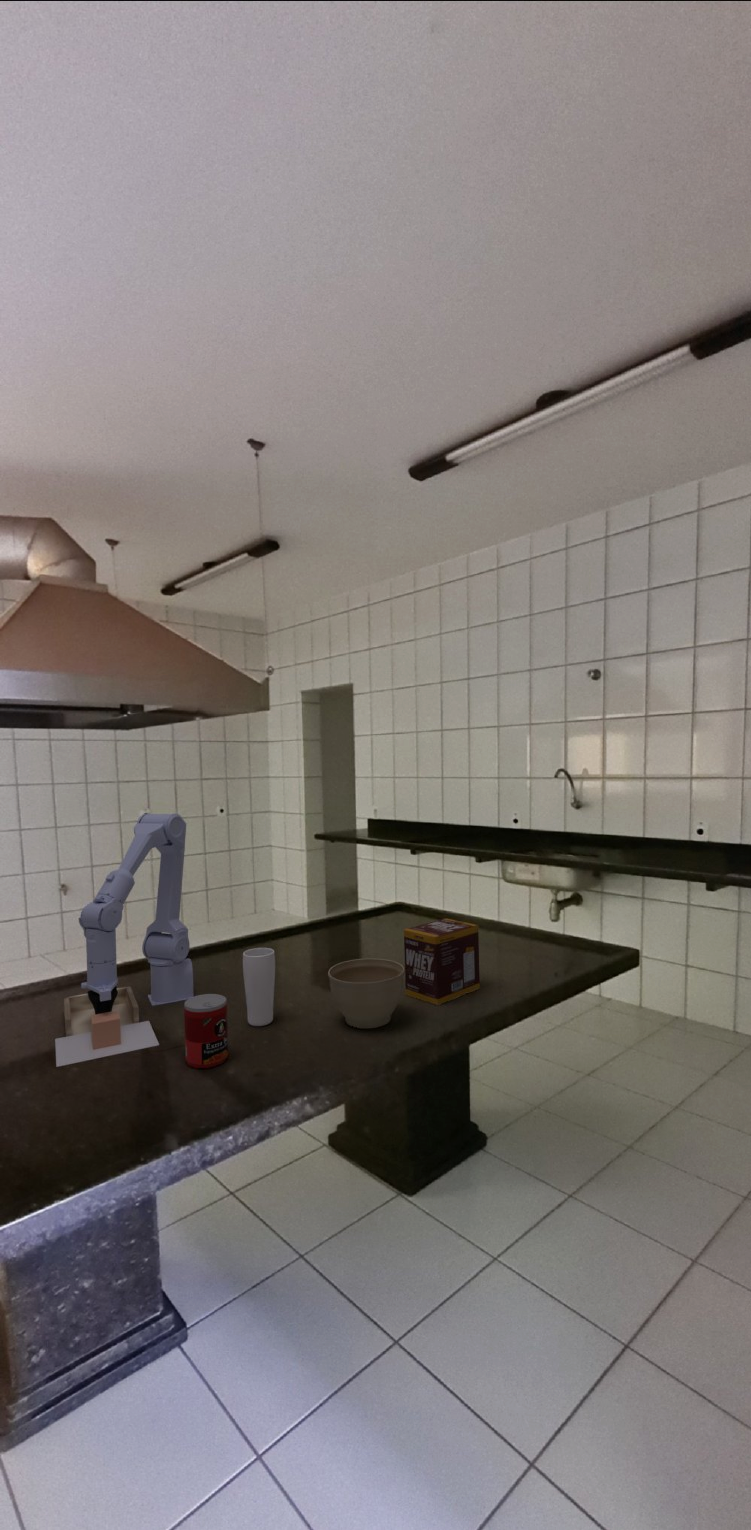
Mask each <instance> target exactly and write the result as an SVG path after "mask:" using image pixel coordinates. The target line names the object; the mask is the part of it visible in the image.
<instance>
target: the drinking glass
mask: <svg viewBox="0 0 751 1530" xmlns="http://www.w3.org/2000/svg"><path fill="white" fill-rule="evenodd" d="M242 973H243V974H242V975H243V976H242V977H243V984H244V985H243V986H244V993H245V1001H246V1002H245V1003H246V1010H247V1011H246V1012H247V1022H248V1024H249V1025H250V1026H252V1027H263V1026H267V1025H270V1024H271V1023H272V1022H273V1020H274V995H275V994H274V993H275V983H276V982H275V979H276V956H275V950H274V949H272V948H269V947H257V948H256V947H255V948H251V949H247V950H245V951H243V953H242Z"/></svg>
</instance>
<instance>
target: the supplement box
mask: <svg viewBox="0 0 751 1530" xmlns="http://www.w3.org/2000/svg"><path fill="white" fill-rule="evenodd" d="M479 937H480V936H479V924H474V923H469V922H465V921H461V920H460V921H459V920H456V919H451V918H441V919H439V920H435V921H431V922H427V923H425V924H424V923H423V924H419V925H415V926H413V927H412V926H411V927H408V928H405V929H403V941H404V943H403V947H404V949H403V950H404V979H405V980H404V981H405V996H408V997H412V998H414V999H416V998H417V999H416V1000H419V999H421V1000H420V1001H422V1000H423V1001H422V1002H425V1001H428V1002H431V1003H433V1004H432V1005H434V1004H441V1003H443V1002H445V1001H448V1000H450V999H452V998H455V997H457V996H459V995H463V994H465V993H466V992H470V991H472V990H474V989H478V988H480V987H481V982H480V978H481V977H480V945H479V944H480V942H479V941H480V940H479ZM480 989H481V988H480ZM428 1002H427V1003H428ZM431 1003H430V1004H431ZM441 1005H442V1004H441Z"/></svg>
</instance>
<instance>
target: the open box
mask: <svg viewBox="0 0 751 1530" xmlns="http://www.w3.org/2000/svg"><path fill="white" fill-rule="evenodd" d="M117 991H118V994H117V997H116V999H115V1001H114V1004H113V1007H112V1011H117V1010H118V1013H119V1016H120V1026H124V1025H129V1024H134V1023H139V1022H140V1009H139V1008H140V1007H139V1004H138V1002H137V1000H136V997H135V995H134V992H133V990H132V988H131V986H129V985H128V986H124V987H117ZM63 1015H64V1026H65V1037H68V1036H73V1035H78V1034H83V1033H88V1032H91V1015H95V1010H94V1007H93V1005H92V1003H91V1001H90V1000H89V998H88V993H83V994H82V993H81V994H78V995H77V994H75V995H71V996H64V997H63Z"/></svg>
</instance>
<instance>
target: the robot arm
mask: <svg viewBox="0 0 751 1530" xmlns="http://www.w3.org/2000/svg"><path fill="white" fill-rule="evenodd" d="M186 832H187V823H186V821H185V820H184V818H183V817H182V816H181V815H180V814H179V813H168V814H167V813H148V812H147V813H143V814H141V815H140V816H139V818H138V819H137V821H136V823H135V825H134V826H133V833H134V836H133V839H132V841H131V843H130V845H129V847H128V849H127V851H126V853H125V855H124V857H123V858H122V861H121V863H120V865H119V867H118V869H115V870H112V871H110V872H109V873H108V874H107V875H106V877H105V880H104V882H103V884H102V885H101V887H100V889H99V891H98V892H97V893H96V895H95V897H94V898H93V901H91V902H89V903H88V904H86V905H85V906H84V907H83V908H82V910H81V912H80V917H78V923H79V925H80V927H81V928H82V930H83V937H84V938H85V947H86V950H85V951H86V981H85V982H81V983H80V986H81V989H88V991H87V993H88V998H89V1000H90V1001H91V1003H92V1005H93V1007H94V1010H95V1015H96V1014H101V1013H107V1012H112V1007H113V1004H114V1001H115V999H116V997H117V994H118V991H117V988H118V987H117V984H118V983H119V978H118V973H117V972H118V971H117V969H118V968H117V934H116V931H117V930H116V928H118V927H119V925H120V924H121V922H122V920H123V919H122V918H123V911H124V904H125V902H126V900H127V899H128V897H129V895H130V893H131V891H132V890H133V887H134V886H135V883H136V882H135V878H134V875H135V873H136V872H137V871H138V869H139V868H140V867H141V865H142V864H143V862H144V860H145V858H147V856H148V855H149V853H150V852H151V850H152V849H154V848H155V849H156V850H157V851H158V852H159V853H160V864H159V872H158V873H159V874H158V884H157V897H156V898H157V899H156V908H155V920H154V921H153V922H152V923H150V924H149V925H148V926H147V927H146V933H145V937H144V940H143V941H142V945H141V948H142V954H143V957H145V958H146V959H147V963H149V964H150V992H151V993H150V994H148V995H147V998H148V999H149V1003H150V1004H151V1006H157V1005H158V1006H159V1005H164V1004H169V1003H175V1002H180V1001H186V1000H188V999H189V998H192V997H194V970H193V963H192V959H191V958H187V956H188V954H189V952H190V946H191V945H190V944H191V943H190V938H189V928H188V927H187V926H186V925H185V924H184V923H183V922H182V921H181V920H180V917H181V916H180V915H181V914H180V912H181V902H182V901H181V900H182V888H183V887H182V886H183V877H184V876H183V875H184V865H185V864H184V863H185V852H186V847H185V846H186V834H187V833H186ZM87 993H86V994H87Z"/></svg>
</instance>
